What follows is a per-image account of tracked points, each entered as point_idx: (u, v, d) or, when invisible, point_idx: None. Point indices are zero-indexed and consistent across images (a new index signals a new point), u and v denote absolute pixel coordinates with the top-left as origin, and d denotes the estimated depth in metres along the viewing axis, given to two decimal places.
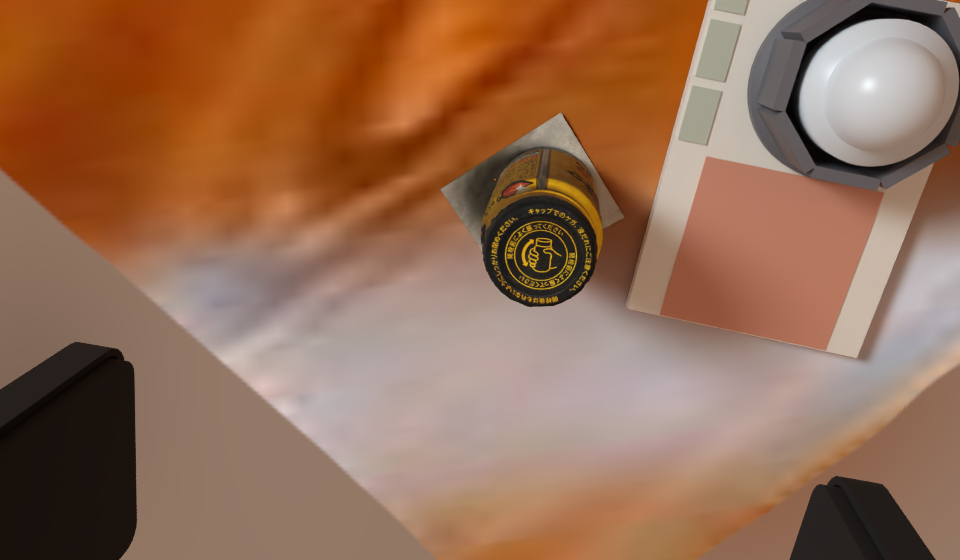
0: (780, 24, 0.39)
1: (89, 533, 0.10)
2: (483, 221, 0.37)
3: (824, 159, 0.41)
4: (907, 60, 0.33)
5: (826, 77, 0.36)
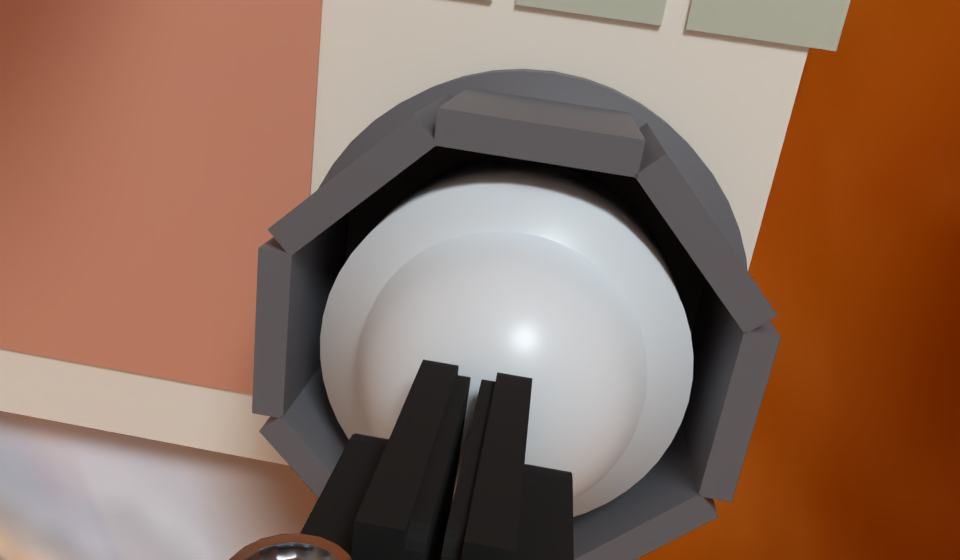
0: (663, 122, 0.15)
1: (443, 534, 0.11)
2: None
3: None
4: (596, 429, 0.12)
5: (540, 229, 0.13)
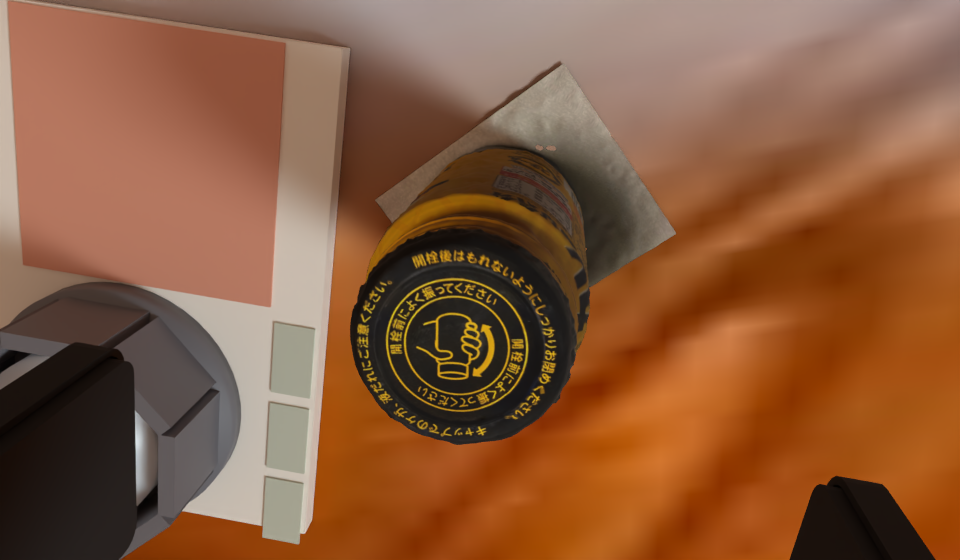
0: (216, 476, 0.31)
1: (89, 533, 0.10)
2: (583, 333, 0.20)
3: None
4: None
5: (139, 462, 0.28)
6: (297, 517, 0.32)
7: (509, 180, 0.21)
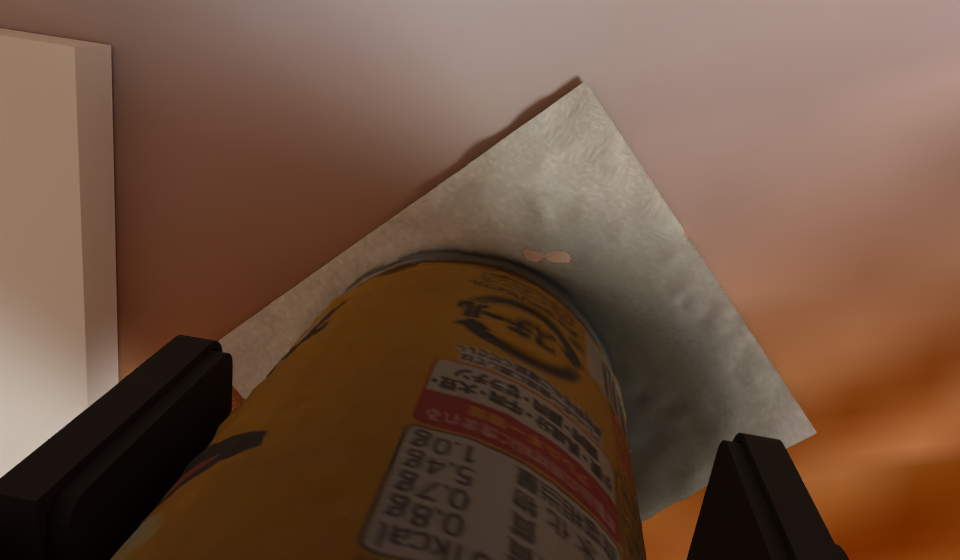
0: None
1: None
2: None
3: None
4: None
5: None
6: None
7: (435, 458, 0.07)
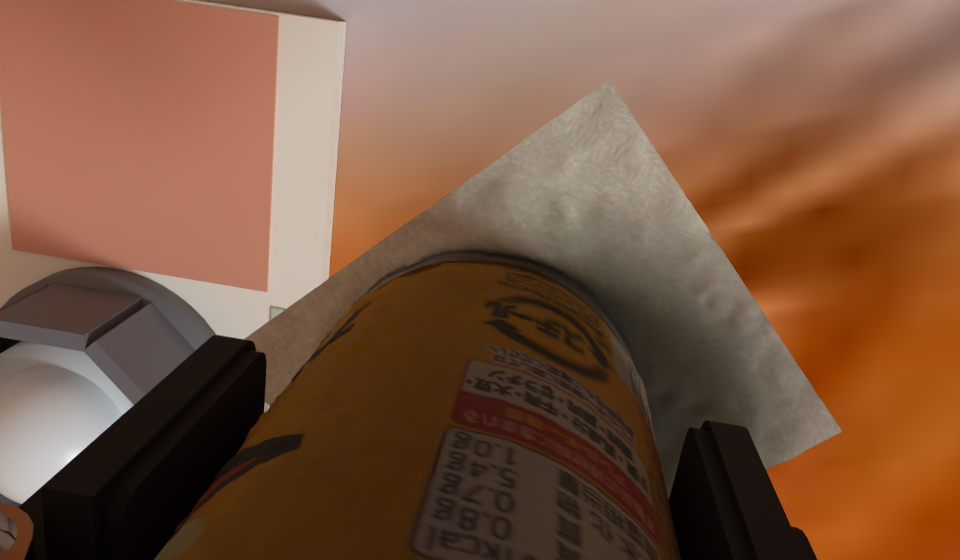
0: None
1: None
2: None
3: None
4: None
5: None
6: None
7: (477, 461, 0.07)
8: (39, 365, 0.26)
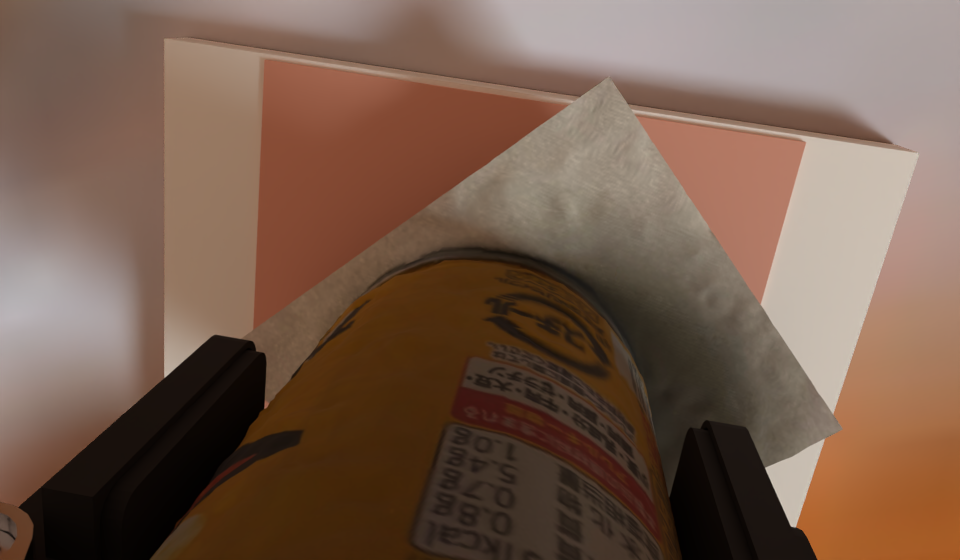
0: None
1: None
2: None
3: None
4: None
5: None
6: None
7: (477, 457, 0.07)
8: None
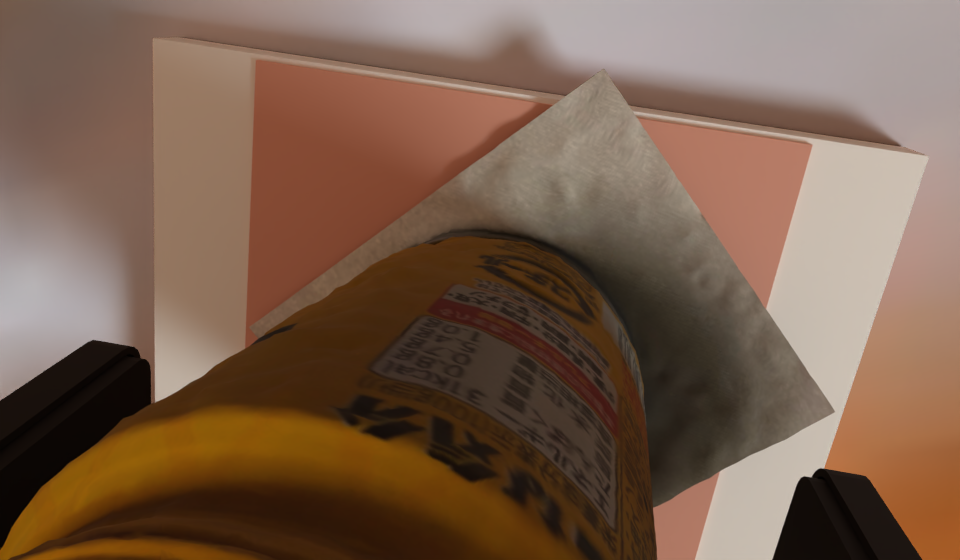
0: None
1: None
2: None
3: None
4: None
5: None
6: None
7: (443, 335, 0.08)
8: None
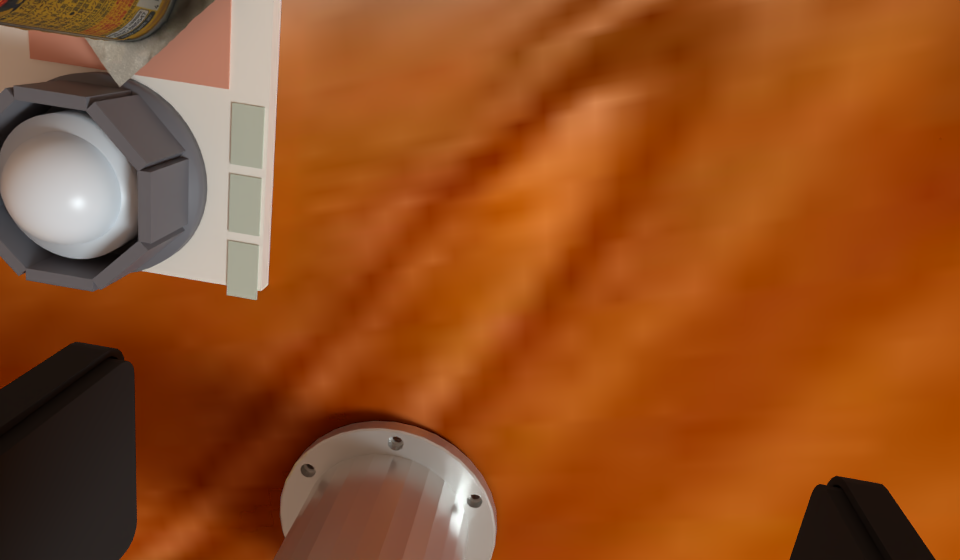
0: (187, 236, 0.38)
1: (89, 533, 0.10)
2: None
3: None
4: (46, 234, 0.34)
5: (123, 203, 0.35)
6: (254, 276, 0.40)
7: None
8: (51, 131, 0.34)
